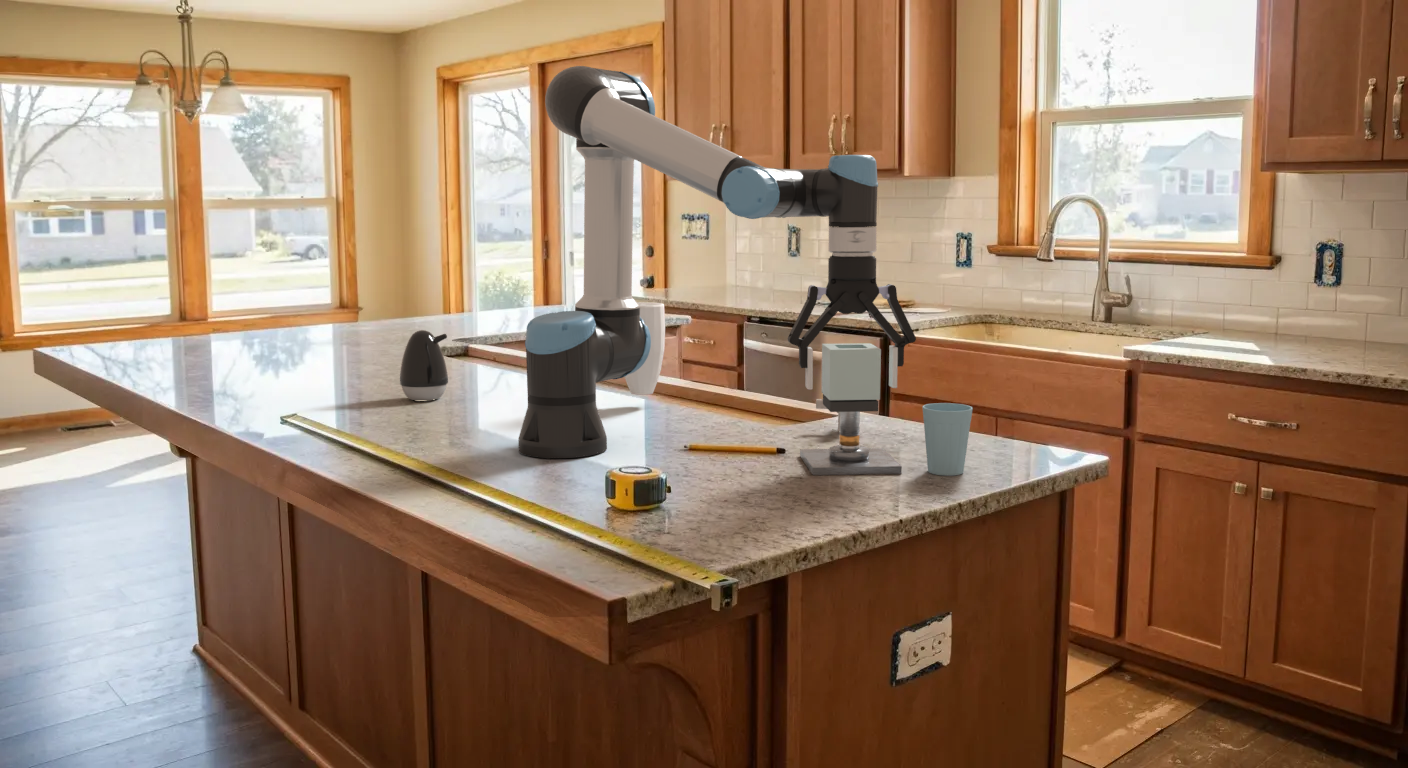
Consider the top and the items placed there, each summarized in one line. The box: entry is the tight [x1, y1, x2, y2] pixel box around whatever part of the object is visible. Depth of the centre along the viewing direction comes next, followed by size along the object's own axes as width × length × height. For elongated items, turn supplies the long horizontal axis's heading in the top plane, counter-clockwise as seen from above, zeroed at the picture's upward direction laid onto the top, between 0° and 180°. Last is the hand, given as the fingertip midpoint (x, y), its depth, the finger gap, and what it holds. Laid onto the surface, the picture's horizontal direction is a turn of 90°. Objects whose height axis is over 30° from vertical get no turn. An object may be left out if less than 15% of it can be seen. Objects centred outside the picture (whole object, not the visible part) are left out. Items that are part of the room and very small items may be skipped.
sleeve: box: [821, 342, 882, 401], centre depth 189 cm, size 8×8×8 cm
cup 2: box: [624, 301, 666, 396], centre depth 245 cm, size 10×10×22 cm
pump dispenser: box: [399, 329, 449, 401], centre depth 255 cm, size 10×10×15 cm
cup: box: [922, 402, 973, 477], centre depth 185 cm, size 8×8×10 cm
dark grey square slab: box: [822, 393, 879, 413], centre depth 190 cm, size 8×8×2 cm
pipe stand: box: [799, 412, 903, 476], centre depth 190 cm, size 14×14×14 cm
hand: (851, 387), depth 189 cm, fingers open, 13 cm apart
